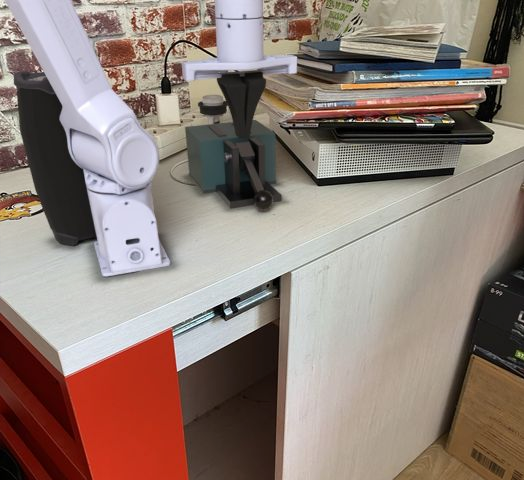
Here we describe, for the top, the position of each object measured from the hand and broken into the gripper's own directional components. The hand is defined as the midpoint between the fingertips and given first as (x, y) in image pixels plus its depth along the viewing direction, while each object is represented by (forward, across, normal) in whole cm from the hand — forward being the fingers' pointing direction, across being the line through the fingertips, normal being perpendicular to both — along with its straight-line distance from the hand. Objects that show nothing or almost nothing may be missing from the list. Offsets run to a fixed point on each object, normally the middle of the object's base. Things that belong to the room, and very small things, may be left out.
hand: (242, 136), depth 72 cm
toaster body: (+10, -2, -13) cm, 17 cm away
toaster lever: (+8, -2, -3) cm, 8 cm away
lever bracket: (+10, -2, -6) cm, 12 cm away
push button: (+10, -4, -28) cm, 30 cm away
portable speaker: (+11, +23, 0) cm, 25 cm away
